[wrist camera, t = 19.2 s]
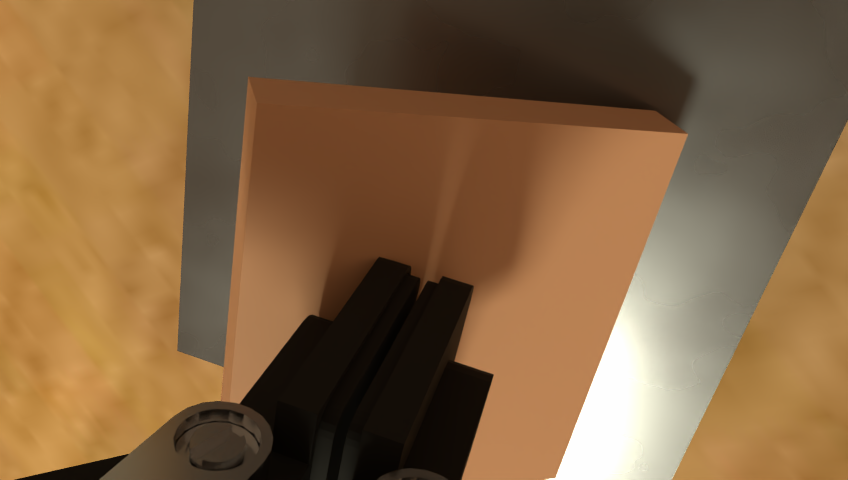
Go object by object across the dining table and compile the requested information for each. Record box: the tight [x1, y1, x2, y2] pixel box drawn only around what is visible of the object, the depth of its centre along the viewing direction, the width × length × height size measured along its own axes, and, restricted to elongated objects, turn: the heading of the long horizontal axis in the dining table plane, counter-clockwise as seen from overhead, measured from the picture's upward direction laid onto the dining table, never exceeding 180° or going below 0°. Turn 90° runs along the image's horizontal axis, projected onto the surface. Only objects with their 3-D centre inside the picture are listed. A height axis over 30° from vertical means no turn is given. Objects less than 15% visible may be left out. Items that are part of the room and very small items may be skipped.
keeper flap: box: [221, 77, 688, 480], centre depth 14 cm, size 7×8×1 cm
